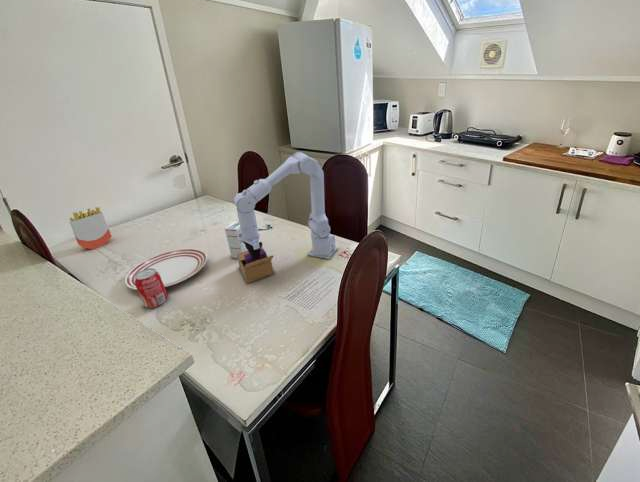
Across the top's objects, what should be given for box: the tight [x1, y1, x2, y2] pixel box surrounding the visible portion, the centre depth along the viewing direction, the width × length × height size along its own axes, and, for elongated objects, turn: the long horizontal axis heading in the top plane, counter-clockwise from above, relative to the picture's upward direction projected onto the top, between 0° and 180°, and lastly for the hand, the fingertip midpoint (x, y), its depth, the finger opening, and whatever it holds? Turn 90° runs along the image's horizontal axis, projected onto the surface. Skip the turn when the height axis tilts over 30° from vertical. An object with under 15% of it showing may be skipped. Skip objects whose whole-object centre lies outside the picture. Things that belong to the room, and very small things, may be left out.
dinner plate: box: [124, 247, 208, 291], centre depth 121 cm, size 27×27×3 cm
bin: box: [236, 246, 274, 284], centre depth 121 cm, size 12×10×7 cm
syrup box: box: [224, 221, 248, 259], centre depth 130 cm, size 6×6×14 cm
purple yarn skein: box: [244, 248, 267, 264], centre depth 117 cm, size 7×4×3 cm, turn 125°
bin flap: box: [244, 255, 274, 269], centre depth 113 cm, size 6×10×1 cm
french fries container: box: [69, 206, 112, 250], centre depth 138 cm, size 5×11×18 cm, turn 148°
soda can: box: [135, 268, 168, 308], centre depth 104 cm, size 7×7×12 cm
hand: (254, 257), depth 117 cm, fingers closed on purple yarn skein, 4 cm apart
